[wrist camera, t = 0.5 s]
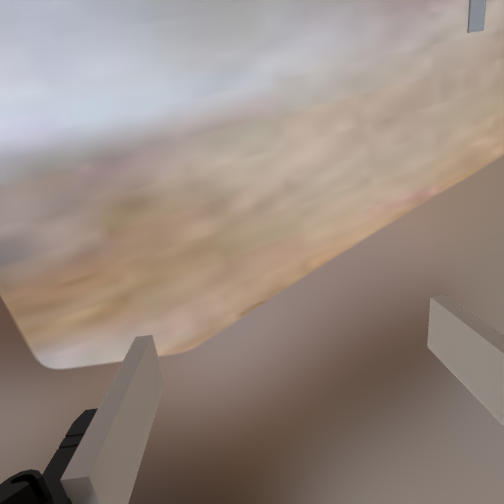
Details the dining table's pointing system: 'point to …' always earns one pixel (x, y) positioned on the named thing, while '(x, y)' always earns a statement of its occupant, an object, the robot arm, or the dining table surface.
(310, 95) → the dining table surface
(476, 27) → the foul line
